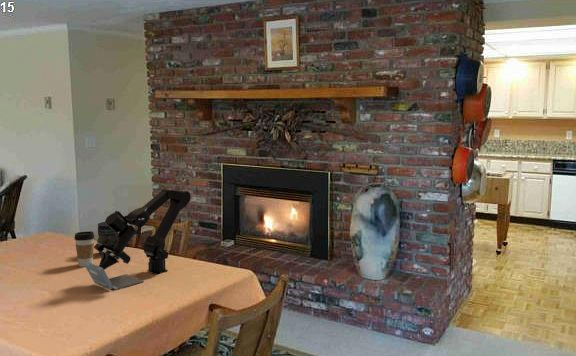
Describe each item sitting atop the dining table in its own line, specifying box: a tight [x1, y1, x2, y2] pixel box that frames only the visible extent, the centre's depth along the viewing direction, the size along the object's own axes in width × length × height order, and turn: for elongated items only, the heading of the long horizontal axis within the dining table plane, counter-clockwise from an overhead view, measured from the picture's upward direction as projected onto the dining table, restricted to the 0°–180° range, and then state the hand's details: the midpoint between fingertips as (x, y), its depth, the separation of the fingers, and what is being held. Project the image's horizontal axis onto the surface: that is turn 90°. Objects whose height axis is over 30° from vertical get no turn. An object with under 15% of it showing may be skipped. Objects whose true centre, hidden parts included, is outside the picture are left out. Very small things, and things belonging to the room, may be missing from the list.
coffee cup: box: [74, 231, 95, 268], centre depth 229 cm, size 8×8×15 cm
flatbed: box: [109, 273, 145, 291], centre depth 207 cm, size 13×13×1 cm
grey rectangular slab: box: [84, 262, 113, 290], centre depth 199 cm, size 2×12×10 cm, turn 49°
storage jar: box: [97, 221, 119, 257], centre depth 248 cm, size 10×10×15 cm
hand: (98, 271), depth 199 cm, fingers closed, pressing on grey rectangular slab
